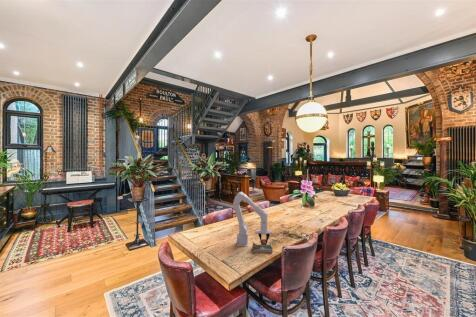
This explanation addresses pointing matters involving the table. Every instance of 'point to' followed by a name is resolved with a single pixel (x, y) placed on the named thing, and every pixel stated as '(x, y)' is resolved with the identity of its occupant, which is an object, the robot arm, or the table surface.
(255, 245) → the walnut step ramp
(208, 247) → the table surface
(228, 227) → the table surface
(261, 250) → the slate lane
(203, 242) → the table surface
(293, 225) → the table surface
